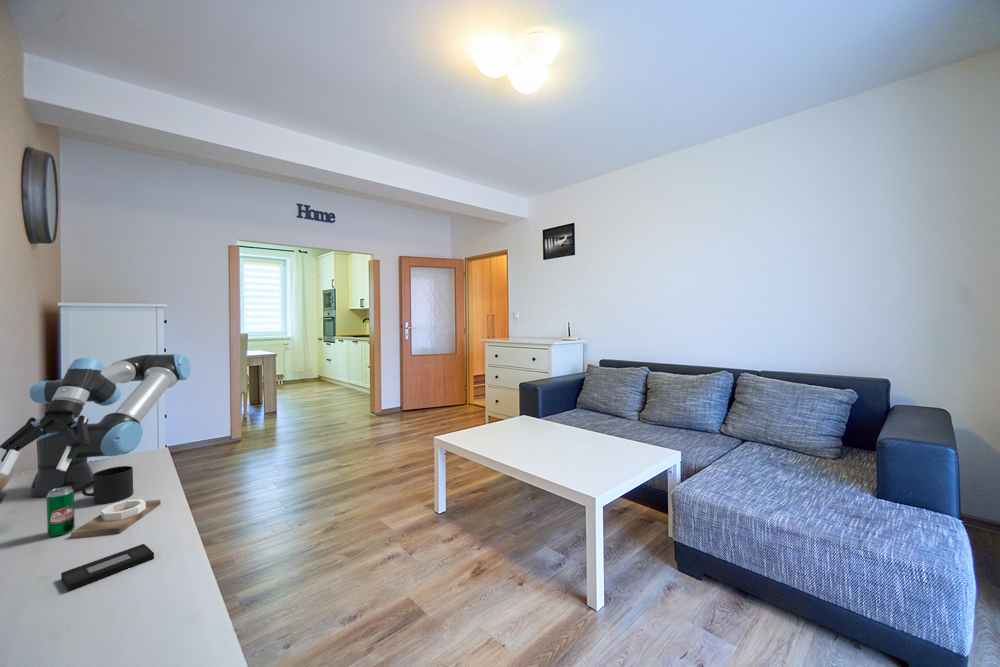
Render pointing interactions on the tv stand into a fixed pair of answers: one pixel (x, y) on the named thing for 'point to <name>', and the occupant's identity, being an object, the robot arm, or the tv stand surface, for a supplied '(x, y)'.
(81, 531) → the walnut board
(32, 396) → the robot arm
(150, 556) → the vhs tape
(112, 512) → the socket ring
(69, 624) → the tv stand surface
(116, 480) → the mug
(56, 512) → the soda can
